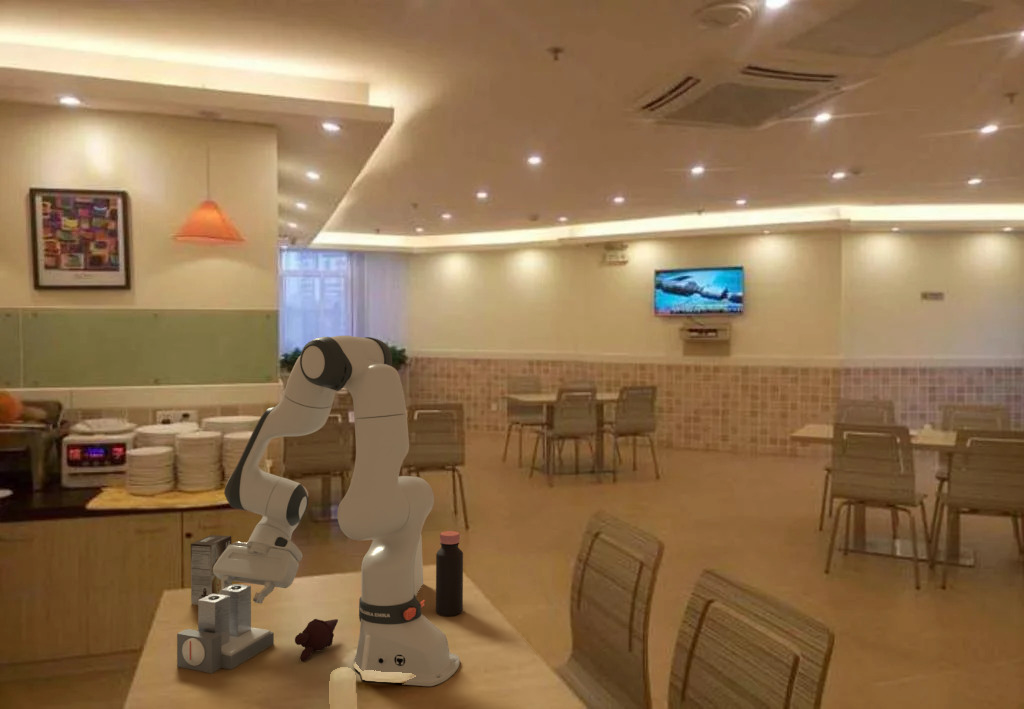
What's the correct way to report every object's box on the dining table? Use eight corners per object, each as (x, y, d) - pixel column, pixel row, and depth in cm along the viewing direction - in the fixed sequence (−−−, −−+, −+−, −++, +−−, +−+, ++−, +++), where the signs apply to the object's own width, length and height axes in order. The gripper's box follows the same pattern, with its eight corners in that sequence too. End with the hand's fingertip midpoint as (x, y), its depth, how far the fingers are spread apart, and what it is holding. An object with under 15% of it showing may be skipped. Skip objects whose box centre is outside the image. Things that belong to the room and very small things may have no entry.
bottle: (431, 609, 192) (432, 531, 191) (456, 605, 195) (457, 528, 194) (441, 618, 186) (442, 538, 185) (466, 614, 189) (467, 535, 188)
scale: (273, 643, 170) (273, 613, 170) (219, 676, 153) (219, 642, 153) (223, 635, 174) (223, 605, 174) (165, 665, 158) (165, 633, 158)
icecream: (320, 607, 175) (280, 636, 161) (346, 603, 173) (308, 633, 159) (328, 635, 175) (288, 667, 161) (354, 632, 173) (316, 664, 159)
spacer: (251, 629, 170) (250, 585, 169) (237, 637, 165) (237, 591, 165) (235, 627, 171) (234, 583, 171) (221, 634, 167) (221, 589, 167)
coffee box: (211, 593, 203) (211, 534, 203) (232, 595, 202) (232, 535, 201) (190, 605, 194) (189, 543, 194) (212, 607, 193) (212, 544, 192)
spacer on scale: (229, 641, 163) (229, 595, 163) (215, 649, 159) (215, 602, 159) (213, 638, 164) (212, 593, 164) (198, 646, 160) (198, 599, 160)
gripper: (224, 534, 180) (195, 587, 171) (297, 542, 173) (270, 598, 164) (237, 547, 184) (209, 600, 175) (308, 556, 177) (283, 611, 168)
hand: (239, 599), depth 169 cm, fingers open, 8 cm apart
